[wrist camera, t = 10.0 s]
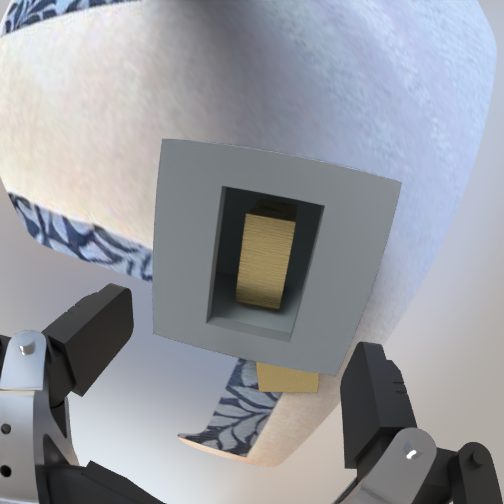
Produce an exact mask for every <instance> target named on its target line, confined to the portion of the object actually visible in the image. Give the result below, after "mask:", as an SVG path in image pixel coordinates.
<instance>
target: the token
mask: <svg viewBox="0 0 504 504" xmlns="http://www.w3.org/2000/svg"><path fill="white" fill-rule="evenodd" d="M256 367H257V376H258V385H259V391H264V392H318V380H319V374H318V373H312V372H306V371H300V370H295V369H289V368H284V367H279V366H274V365H269V364H264V363H260V362H256Z"/></svg>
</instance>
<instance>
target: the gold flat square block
mask: <svg viewBox="0 0 504 504" xmlns="http://www.w3.org/2000/svg"><path fill="white" fill-rule="evenodd" d="M296 214H297V205H295V204H289V203H283V202H277V201H271V200H265V199H259V200H258V201H257V202H256V203H255V205H254V206H253V207H252V208H251V209H250V210H249V211H248V212H247V213H246V218H245V226H244V233H243V241H242V249H241V257H240V265H239V273H238V281H237V289H236V297H235V301H238V302H243V303H248V304H253V305H258V306H263V307H269V308H274V309H279V307H280V302H281V297H282V292H283V287H284V282H285V277H286V272H287V267H288V262H289V256H290V251H291V246H292V240H293V235H294V229H295V224H296Z"/></svg>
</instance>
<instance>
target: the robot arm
mask: <svg viewBox="0 0 504 504" xmlns="http://www.w3.org/2000/svg"><path fill="white" fill-rule="evenodd" d="M133 327H134V323H133V309H132V294H131V291H130V289H128V288H125V287H122V286H119V285H115V284H112V283H110V284H108V285H107V286H106V287H104V288H103V289H102V290H100V291H99V292H98V293H97V292H96V293H93V294H91V295H88V296H86V297H84V298H82V299H81V300H80V301H79V302H77V303H76V304H75V306H72V307H71V308H70V309H69V310H68V312H65V313H64V314H62V315H61V316H60V317H59V318H58V319H56V320H55V321H54V322H53V323H52V324H50V325H49V326H48V327H47V328H46V329H45V330H43V331H42V332H41V333H40V332H38V331H34V330H26V331H22V332H19V333H17V334H16V335H15V336H13V337H12V338H11V337H7V336H3V335H0V504H165V503H163V502H161V501H160V500H158V499H157V498H155V497H153V496H151V495H150V494H149V493H147V492H146V491H144V490H143V489H141V488H140V487H138V486H137V485H135V484H134V483H133V482H131V481H130V480H129V479H127V478H125V477H123V476H121V475H119V474H117V473H115V472H113V471H111V470H108V469H106V468H104V467H103V466H101V465H99V464H96V463H95V462H93V461H91V460H90V462H89V463H88V465H87V466H86V467H82V466H79V462H78V459H77V456H76V454H75V451H74V448H73V445H72V438H71V429H70V419H69V404H68V398H67V395H68V394H69V393H70V391H72V392H74V393H76V394H78V395H79V396H81V397H82V396H83V395H84V394H85V393H86V392H87V390H88V389H89V388H90V387H91V385H92V384H93V383H94V382H95V380H96V379H97V378H98V377H99V375H100V374H101V373H102V372H103V370H104V369H105V368H106V367H107V366H108V364H109V363H110V362H111V361H112V359H113V358H114V357H115V356H116V354H117V353H118V352H119V351H120V350H121V348H122V347H123V346H124V345H125V344H126V343H127V341H128V340H129V339H130V337H131V335H132V332H133ZM340 394H341V406H342V419H343V435H344V458H345V468H347V469H348V468H349V469H357V477H355V478H354V480H353V481H352V482H351V483H350V484H349V485H348V486H347V488H346V489H345V490H344V491H343V492H342V493H341V494H340V495H339V496H338V498H337V499H336V500H335V501H334V502H333V503H332V504H449V503H451V502H452V501H453V504H503V502H502V497H501V492H500V488H499V483H498V479H497V475H496V471H495V468H494V464H493V460H492V457H491V454H490V452H489V451H488V449H487V448H486V447H485V446H483V445H482V444H480V443H477V442H470V443H467V444H465V445H464V446H463V447H462V448H461V449H460V450H459V451H458V452H455V451H451V450H446V449H441V448H437V447H436V444H435V442H434V440H433V439H432V437H431V436H430V435H429V434H428V433H427V432H425V431H423V430H421V429H418V428H417V424H416V420H415V417H414V414H413V410H412V407H411V403H410V400H409V396H408V394H407V390H406V387H405V385H404V381H403V378H402V374H401V371H400V370H399V369H398V367H397V366H396V365H395V364H394V363H393V361H392V360H386V357H385V354H384V350H383V347H382V345H381V344H375V343H368V342H361V341H360V342H359V343H358V344H357V346H356V348H355V350H354V353H353V355H352V357H351V359H350V361H349V363H348V366H347V368H346V370H345V372H344V374H343V377H342V380H341V386H340Z"/></svg>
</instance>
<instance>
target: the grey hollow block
mask: <svg viewBox="0 0 504 504" xmlns="http://www.w3.org/2000/svg"><path fill="white" fill-rule="evenodd" d="M401 185H402V183H401V182H398V181H395V180H392V179H389V178H386V177H382V176H379V175H376V174H372V173H369V172H365V171H362V170H358V169H354V168H350V167H346V166H342V165H338V164H334V163H329V162H325V161H320V160H316V159H311V158H306V157H301V156H296V155H291V154H286V153H280V152H274V151H269V150H263V149H257V148H250V147H243V146H236V145H229V144H221V143H213V142H202V141H191V140H178V139H162V145H161V153H160V162H159V172H158V182H157V193H156V206H155V222H154V242H153V334H156V335H159V336H162V337H165V338H168V339H172V340H175V341H178V342H182V343H185V344H189V345H192V346H196V347H199V348H203V349H206V350H210V351H214V352H218V353H222V354H226V355H230V356H234V357H238V358H242V359H246V360H251V361H255V362H260V363H264V364H269V365H274V366H279V367H284V368H289V369H295V370H300V371H306V372H312V373H318V374H325V375H331V376H336V375H337V373H338V371H339V369H340V367H341V364H342V362H343V360H344V358H345V356H346V353H347V351H348V349H349V346H350V344H351V342H352V339H353V337H354V334H355V332H356V329H357V327H358V324H359V322H360V319H361V317H362V314H363V312H364V309H365V306H366V303H367V301H368V298H369V295H370V292H371V290H372V287H373V284H374V281H375V278H376V275H377V272H378V269H379V266H380V263H381V259H382V256H383V253H384V250H385V246H386V243H387V240H388V236H389V233H390V229H391V225H392V222H393V218H394V214H395V210H396V206H397V202H398V198H399V193H400V189H401ZM259 199H265V200H271V201H277V202H283V203H289V204H295V205H297V214H296V224H295V229H294V235H293V240H292V246H291V251H290V256H289V262H288V267H287V272H286V277H285V282H284V287H283V292H282V297H281V302H280V307H279V309H274V308H269V307H263V306H258V305H253V304H248V303H243V302H238V301H235V297H236V289H237V281H238V273H239V265H240V257H241V249H242V241H243V233H244V226H245V218H246V213H247V212H248V211H249V210H250V209H251V208H252V207H253V206H254V205H255V203H256V202H257V201H258V200H259Z"/></svg>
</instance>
